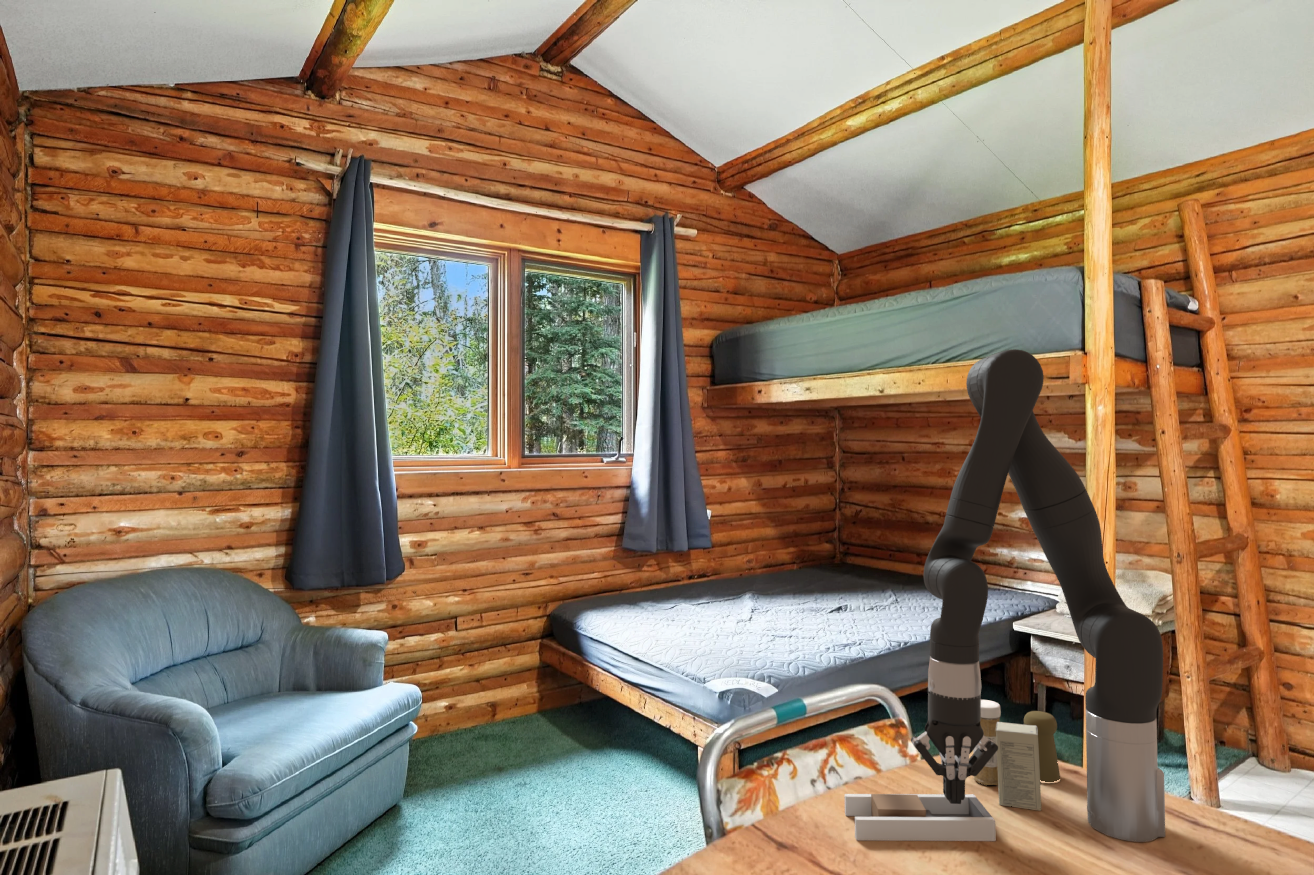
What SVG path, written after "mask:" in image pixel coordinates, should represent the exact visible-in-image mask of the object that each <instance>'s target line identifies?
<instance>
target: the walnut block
mask: <svg viewBox="0 0 1314 875" xmlns="http://www.w3.org/2000/svg"><path fill="white" fill-rule="evenodd" d="M870 794H871V809H872V816H871V817H926V810H925V808H924V806H923V804H922V803H921V801H920V799H919V797H918V796H917V795H900V794H901V793H870Z"/></svg>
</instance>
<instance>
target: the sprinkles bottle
mask: <svg viewBox="0 0 1314 875" xmlns="http://www.w3.org/2000/svg"><path fill="white" fill-rule="evenodd" d="M1001 713H1002V712H1001V705H1000V704H999V702H996V701H993V700H988V699H981V721H980V724H981V727H982V729H983V732H984V736H986V737H987V738H990V739H991V740H992V741H993V742H994V743H995V744H996V724H997V722H1000V719H1001ZM977 748H978V744H977V746H976V747H975V748H974V750H973V751H972V754H973V753H974V752H975V751H976V750H977ZM973 780H974V781H975V782H976V781H977V782H976V783H978V784H980V783H981V784H980V785H983V784H984V785H983V786H987V785H997V786H998V768H997V751H996V753H995V754H994V755H993V756H992V758H991V759H990V760H989V761H988V762H987V764H986V765H985V766H984V767H983V769H982V770H981V771H980V772H979V774H978V775H977V776H973Z"/></svg>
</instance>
